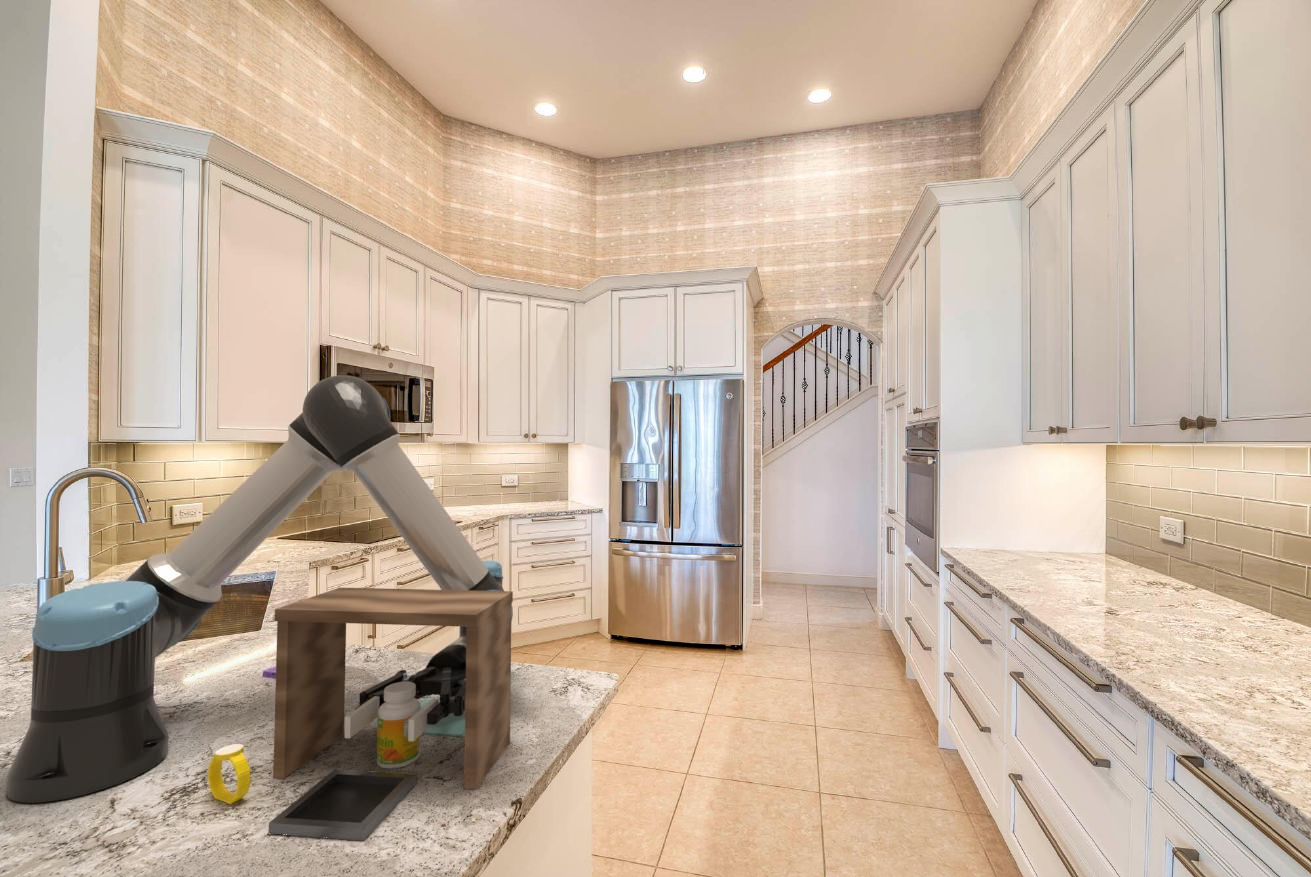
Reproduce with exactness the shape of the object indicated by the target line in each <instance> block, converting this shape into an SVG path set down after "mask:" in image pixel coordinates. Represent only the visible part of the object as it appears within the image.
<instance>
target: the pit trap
mask: <svg viewBox="0 0 1311 877" xmlns="http://www.w3.org/2000/svg"><path fill="white" fill-rule="evenodd" d="M417 775H418V774H417V773H409V772H408V773H405V772H390V771H389V772H388V771H373V770H372V771H370V770H369V771H368V770H354V769H352V770H351V769H349V770H348V769H333V770H332V771H331V772H330V773H329V774H327V775H326V776H325V777H324V778H322V779H321V780H319V782H317V783H316V784H315V785H313V786H312V787H311V788H310V789H309V790H307V791H306V792H305V793H304V794H303V795H301V796H300V797H299V798H297V799H296V800H295V801H294V802H292V804H290V805H289V806H288V807H286V808H285V809H284V810H283V811H281V812H280V813H279V814H278V815H276V816H275V817H274V818H273V819H272V820H270V821H269V822H268V833H267V834H268V835H272V834H285V835H284V836H286V834H287V835H291V836H290V837H302V838H304V837H306V838H315V837H317V838H318V837H319V839H330V838H336V839H335V840H345V841H346V840H347V841H361V842H362V841H363V842H364V841H365V840H366V839H367V838H368V837H369V836H370V835H371V834H372V833H373V832H374V831H375V829H376V828H377V827H378V826H379V825H380V824H381V823H382V822H383V821H384V820H385V818H387V816H388V815H389V814H390V813H391V812H392V811H393V810H394V809H395V808H396V807H397V805H399V804H400V803H401V801H402V800H403V799H404V798H405V797H406V796H407V794H408V793H410V792H411V790H413V788H414V787H415V786H416V785H417V779H418V778H417ZM269 833H270V834H269ZM320 837H321V838H320ZM323 837H325V838H323ZM326 837H327V838H326Z"/></svg>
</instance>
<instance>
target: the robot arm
mask: <svg viewBox="0 0 1311 877" xmlns="http://www.w3.org/2000/svg"><path fill="white" fill-rule="evenodd" d="M303 400H304V401H303V403H302V404H303V406H302V412H301V413H300V414H299V415H298V416H297V417H296V418H295V419H294V420H293V421H292V422H291V423H290V424H288V426H287V431H288V439H287V441H286V442H284V443H283V444H282V445H280V447H279V448H278V449H277V450H276V451H275V452H273V454H272V455H270V457H268V458H267V460H266V461H264V462H263V463H262V464H261V465H260V466H259V467H258V468H257V469H256V470H255V471H254V472H253V473H252V474H251V475H250V476H248V478H247V479H245V481H243V483H241V484H240V485H239V487H237V488H236V489H235V490H234V491H233V492H232V493H231V494H230V495H229V496H228V497H227V498H226V499H225V500H224V501H223V502H222V503H220V505H218V506H217V507H216V508H215V509H214V510H213V511H212V512H211V513H210V514H209V515H208V516H207V517H206V518H205V519H204V520H203V521H202V522H201V523H200V524H198V526H196V527H195V528H194V529H193V530H192V531H191V533H189V534H188V535H187V536H186V537H185V538H184V539H183V540H182V541H181V542H180V543H179V544H178V545H177V546H175V548H173V550H171V552H167V553H158V554H157V553H156V554H153V555H151V556H150V557H149V558H148V559H146V560H145V561H144V562H143V564H141V565H140V566H139V567H138V568H137V569H136V570H134V572H133V573H132V574H130V576H129V577H128V578H126V579H125V580H124V581H123V580H121V581H119V580H118V581H109V582H108V581H107V582H101V583H96V584H90V585H85V586H84V587H82V588H74V589H69V590H67V591H64V592H61V593H59V594H55V595H54V596H52V597H50V598H48V599H47V600H46V601H45V602H42V604H41V605H40V606H39V608H38V610H37V612H36V616H35V623H34V626H33V628H32V630H31V631H32V632H31V633H32V634H31V636H32V637H31V638H32V641H33V644H32V645H33V646H32V647H33V649H32V650H33V651H32V675H31V680H32V681H31V699H30V700H31V701H30V702H31V707H30V710H31V711H30V723H29V727H28V729H27V731H26V734H25V735H24V738H23V740H22V742H21V745H20V747H19V748H18V751H17V752H16V755H15V757H14V759H13V762H12V764H11V766H10V768H9V770H8V773H7V777H6V791H5V792H6V794H5V795H6V797H7V798H8V799H9V800H11V801H14V802H18V803H24V804H25V803H29V804H30V803H31V804H32V803H33V804H34V803H46V802H54V801H59V800H66V799H71V798H75V797H79V796H84V795H87V794H92V793H95V792H98V791H102V790H105V789H108V788H111V787H113V786H116V785H118V784H119V785H120V784H122V783H124V782H127V781H128V780H131V779H133V778H136V777H137V776H140V775H142V774H143V773H145V772H148V771H149V770H150V769H152V768H154V767H155V766H156V765H158V764H159V763H161V761H163V760H164V759H165V758H166V757H167V755H168V753H169V737H170V736H169V732H168V730H167V727H166V725H165V723H164V720H163V718H162V715H161V713H160V710H159V708H158V706H157V703H156V700H155V697H154V696H155V695H154V694H155V693H154V690H155V689H154V688H155V664H156V658H157V657H158V656H160V655H161V654H163V653H164V652H166V651H167V650H169V649H170V648H171V647H173V646H175V645H176V646H177V644H178V643H180V642H182V641H183V640H185V639H186V638H187V637H189V636H190V635H191V634H192V633H193V632H194V631H195V630H196V628H197V627H198V625H199V624H200V622H201V621H202V619H203V617H204V616H205V615H206V614H207V613H208V612H209V611H210V610H211V609H212V608H213V607H214V606H215V605H216V604H217V603H218V602H219V601H220V600H221V598H222V597H223V594H222V584H223V582H225V581H226V579H228V578H229V577H230V575H232V573H234V571H236V569H238V568H239V566H240V565H241V564H242V563H243V562H245V560H246V559H247V558H249V557H250V555H251V554H253V553H254V551H256V550H257V548H259V546H260V545H261V544H262V543H263V542H265V540H266V539H267V538H269V536H270V535H271V534H272V533H273V532H274V531H276V530H277V528H278V527H279V526H280V525H282V523H283V522H284V521H285V520H286V519H287V518H289V517H290V516H291V514H293V512H294V511H295V510H297V508H298V507H299V506H301V504H302V503H303V502H304V501H305V500H306V499H307V498H308V497H309V496H310V495H311V494H312V493H313V492H314V491H315V490H316V489H317V488H318V487H319V486H320V485H321V484H322V483H324V481H325V480H326V479H327V478H328V477H329V476H330V475H331V474H332V473H336V472H345V471H346V472H347V471H350V472H352V473H354V474H355V476H356V477H357V479H358V480H359V482H361V484H362V485H363V487H364V489H366V490H367V491H368V493H369V495H370V496H371V497H372V498H373V500H374V501H375V503H376V504H377V505H378V506H379V508H380V509H381V511H382V512H383V513H384V515H385V516H386V517H387V519H388V520H389V521H390V522H391V524H392V525H393V527H394V528H395V529H396V530H397V532H398V534H399V535H400V537H402V539H403V540H404V542H405V543H406V544H407V545H408V547H409V548H410V549H411V551H412V552H413V554H415V556H416V557H417V559H418V560H419V561H420V563H421V564H422V565H423V567H424V568H425V570H427V572H428V573H429V575H430V577H432V579H433V580H434V581H435V584H437V586H438V587H439V588H440V590H470V591H505V590H504V588H503V580H504V575H503V567H502V563H500V562H498V561H496V560H482V559H481V558H480V556H479V555H478V554H477V552H476V551H475V549H474V548H473V547H472V546H471V544H470V542H469V541H468V540H467V538H466V537H465V535H464V534H463V533H462V532H461V530H460V529H459V527H458V526H457V524H456V523H455V522H454V520H453V519H452V517H451V516H450V514H449V513H448V512H447V511H446V509H445V507H444V506H443V505H442V503H441V502H440V501H439V499H438V498H437V497H436V494H434V492H433V491H432V489H431V488H430V487H429V485H428V484H427V482H426V481H425V479H424V478H423V477H422V475H421V474H420V473H419V471H418V470H417V469H416V467H415V466H414V464H413V463H412V461H411V460H410V459H409V457H408V456H407V454H406V453H405V451H404V450H403V448H401V446H400V444H399V443H400V438H401V434H400V433H399V431H398V430H397V429H396V427H395V426H394V425H393V423H392V421H391V410H390V407H389V405H388V403H387V400H386V399H385V397H383V396H382V395H381V394H380V393H379V391H378V390H377V389H376V388H375V387H374V386H373V385H371V384H370V383H369V382H367V381H366V380H364V379H362V378H360V377H357V376H353V375H346V374H345V375H342V374H340V375H339V374H338V375H333V376H329V377H326V378H324V379H321V380H320V381H318V382H317V383H316V384H314V385H313V386H312V388H310V389H309V391H308V392H307V394H306V395H305V398H304V399H303ZM513 608H514V606H513V602H512V603H511V622H512V621H513V617H514V616H513V615H514V611H513ZM466 628H467V627H460V626H459V637H458V638H457V639H456V640H453V641H452V642H451V643H449V644H448V645H446V646H445V647H444V648H442V649H441V650H440V651H438V652H437V653H435V654H434V655H432V657H431V658H430V659H429V661H428V662H427V665H426V666H425V668H424V669H422V670H419V671H416V672H415V674H408V673H407V670H406V669H401V670H399V671H397V672H396V673H395V675H392V676H390V677H389V678H386V679H385V680H383V681H381V682H379V683H377V684H374V685H373V686H370V687H368V688H366V689H365V690H363V691H361V692H359V700H358V701H359V704H358V706H356V707H355V708H354V709H353V710H352V711H351V712H349V713H348V714H347V715H344V739H351V738H352V737H354V736H355V735H356V734H357V733H359V732H360V731H361V730H363V729H365V728H366V727H367V726H368V725H370V724H371V723H373V721H374V720H376V719H378V710H379V708H380V706H381V705H382V704H383V703H385V701H384V689H385V688H386V687H387V686H388V685H391V684H394V683H398V682H412V683H414V684H415V685H416V694H415V697H414V698H416V699H417V700H419V699H422V698H425V697H426V696H439V698H432V700H431V701H430V702H429V703H428V704H426V705H425V706H424V707H423V708H422V709H421V710H419V711H418V712H417V713H416V714H415V715H413V716H412V717H411V718H410V719H409V725H408V741H415V740H416V739H417V738H418V737H419V736H420V737H421V734H422V733H423V732H424V731H426V730H427V729H428V728H429V727H430V726H431V725H434V724H436V723H438V722H439V721H440V720H441V719H442V718H445V717H448V716H449V714H450V713H454V716H461V715H463V713H464V712H465V702H466ZM451 698H453V699H454V700H450V699H451ZM438 699H440V703H438Z"/></svg>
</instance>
